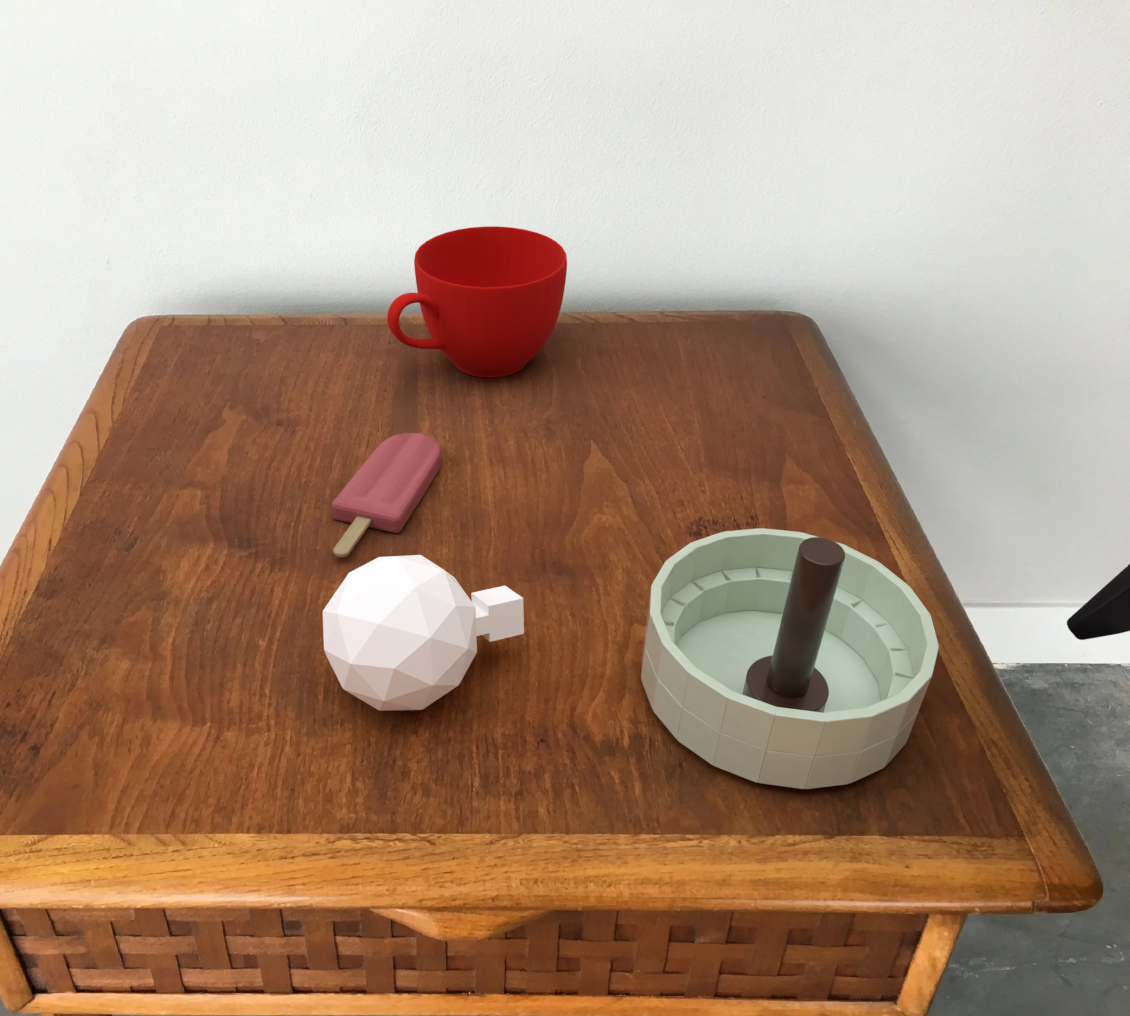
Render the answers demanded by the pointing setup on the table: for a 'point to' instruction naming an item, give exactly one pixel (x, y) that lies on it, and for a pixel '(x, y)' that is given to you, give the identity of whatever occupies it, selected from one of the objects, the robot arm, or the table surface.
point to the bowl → (748, 633)
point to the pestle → (800, 633)
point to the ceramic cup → (486, 297)
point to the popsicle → (386, 487)
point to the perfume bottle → (410, 630)
